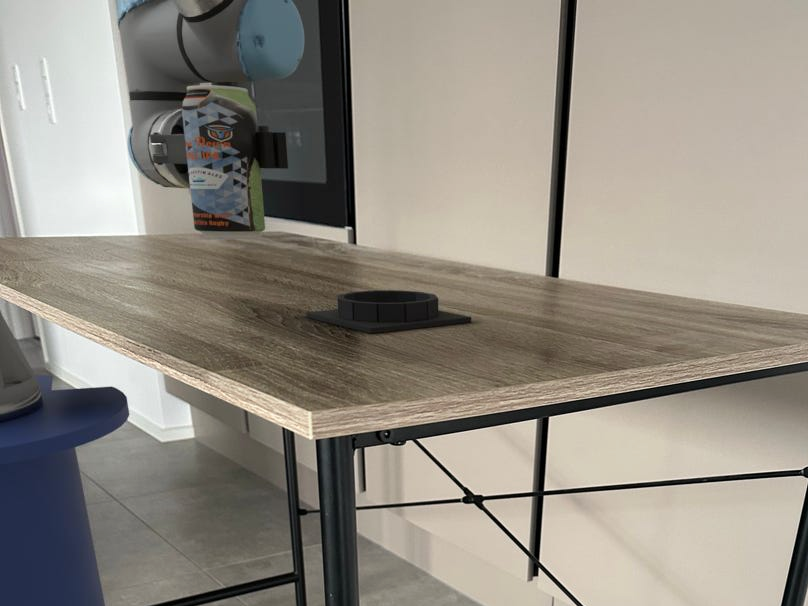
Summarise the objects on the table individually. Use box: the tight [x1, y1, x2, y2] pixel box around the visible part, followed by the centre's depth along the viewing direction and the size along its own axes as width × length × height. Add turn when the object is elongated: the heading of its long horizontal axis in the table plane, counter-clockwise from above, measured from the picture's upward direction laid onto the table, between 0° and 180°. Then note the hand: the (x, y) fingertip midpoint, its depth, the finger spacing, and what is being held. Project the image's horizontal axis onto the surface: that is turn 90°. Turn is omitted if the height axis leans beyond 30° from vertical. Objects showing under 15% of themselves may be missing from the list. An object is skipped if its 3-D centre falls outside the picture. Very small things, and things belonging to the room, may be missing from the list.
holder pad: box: [306, 289, 472, 334], centre depth 110 cm, size 14×14×3 cm
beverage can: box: [182, 84, 266, 240], centre depth 80 cm, size 6×7×12 cm
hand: (275, 150), depth 79 cm, fingers closed on beverage can
